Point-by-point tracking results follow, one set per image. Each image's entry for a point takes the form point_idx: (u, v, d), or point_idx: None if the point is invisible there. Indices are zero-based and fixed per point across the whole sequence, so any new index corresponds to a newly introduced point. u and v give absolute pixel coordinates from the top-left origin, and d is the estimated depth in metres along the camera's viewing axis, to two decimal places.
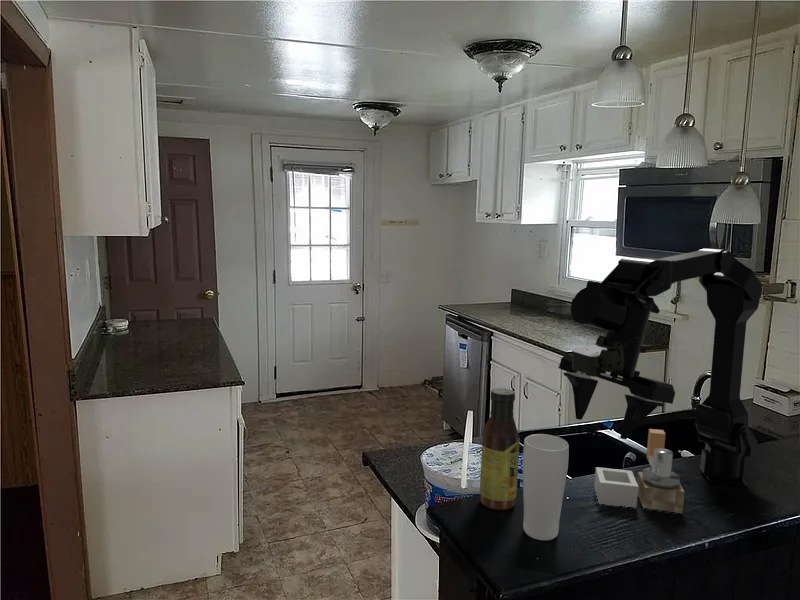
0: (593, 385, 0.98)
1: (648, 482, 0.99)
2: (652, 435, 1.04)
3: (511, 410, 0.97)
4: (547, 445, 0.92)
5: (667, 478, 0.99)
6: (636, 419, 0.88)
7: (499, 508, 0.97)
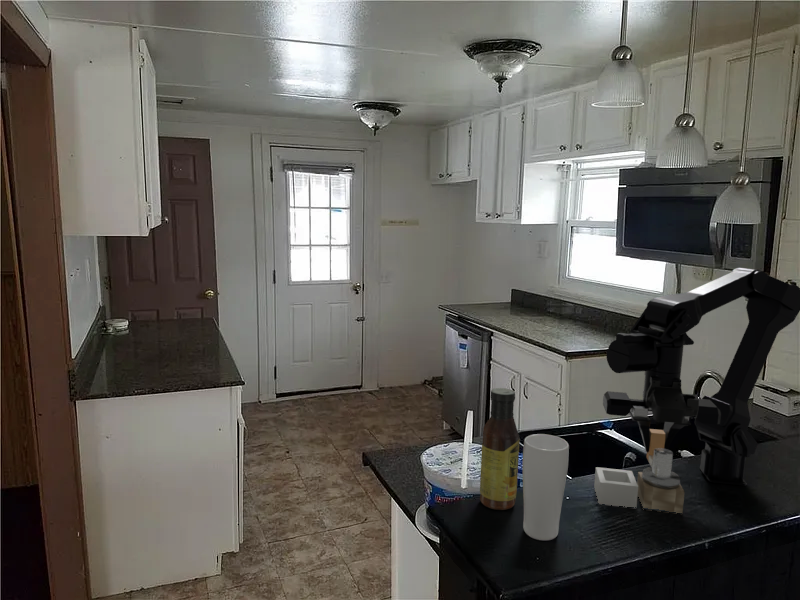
0: None
1: (648, 482, 0.99)
2: (652, 435, 1.04)
3: (511, 410, 0.97)
4: (547, 445, 0.92)
5: (667, 478, 0.99)
6: None
7: (499, 508, 0.97)
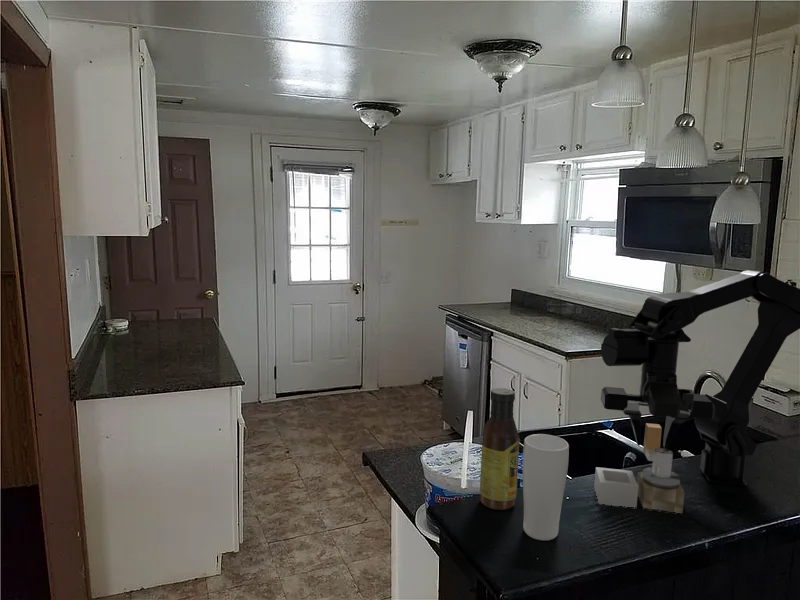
0: None
1: (648, 482, 0.99)
2: (649, 429, 1.07)
3: (511, 410, 0.97)
4: (547, 445, 0.92)
5: (667, 478, 0.99)
6: None
7: (499, 508, 0.97)
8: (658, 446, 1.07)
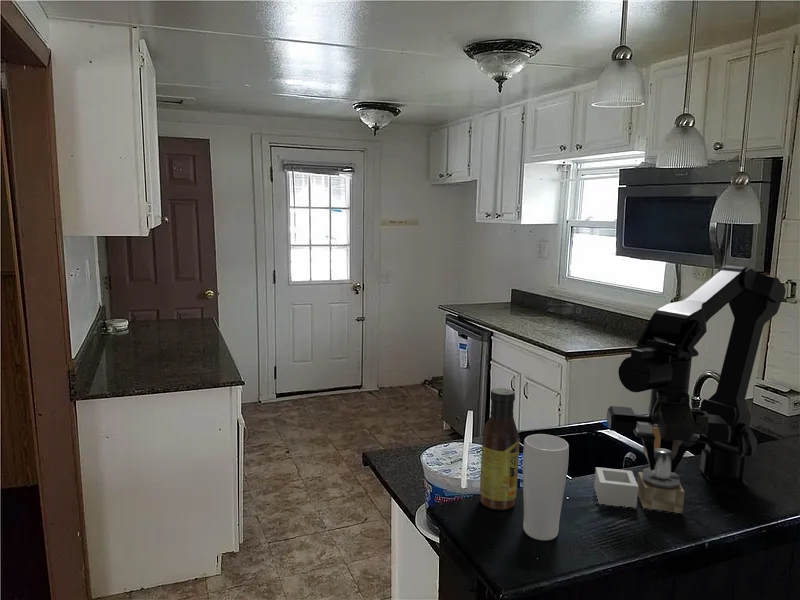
0: None
1: (648, 482, 0.99)
2: None
3: (511, 410, 0.97)
4: (547, 445, 0.92)
5: (667, 478, 0.99)
6: None
7: (499, 508, 0.97)
8: (658, 446, 1.07)
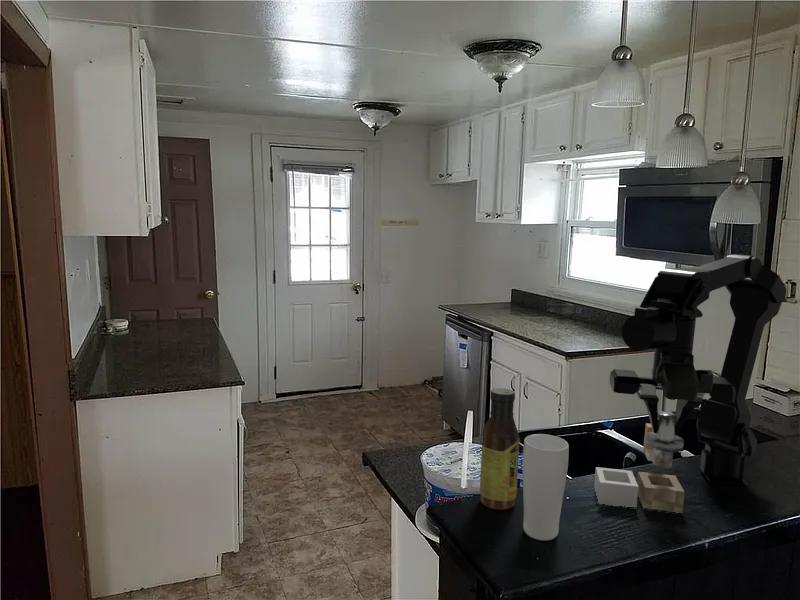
0: None
1: (651, 445, 0.98)
2: (649, 429, 1.07)
3: (511, 410, 0.97)
4: (547, 445, 0.92)
5: (671, 440, 0.98)
6: None
7: (499, 508, 0.97)
8: None
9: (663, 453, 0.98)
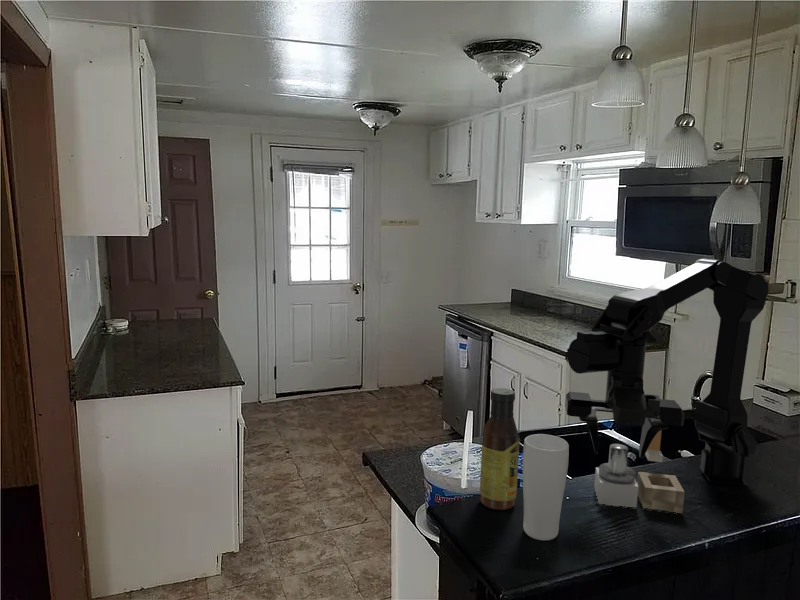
0: None
1: (603, 477, 1.01)
2: None
3: (511, 410, 0.97)
4: (547, 445, 0.92)
5: (622, 473, 1.00)
6: None
7: (499, 508, 0.97)
8: (658, 446, 1.07)
9: None
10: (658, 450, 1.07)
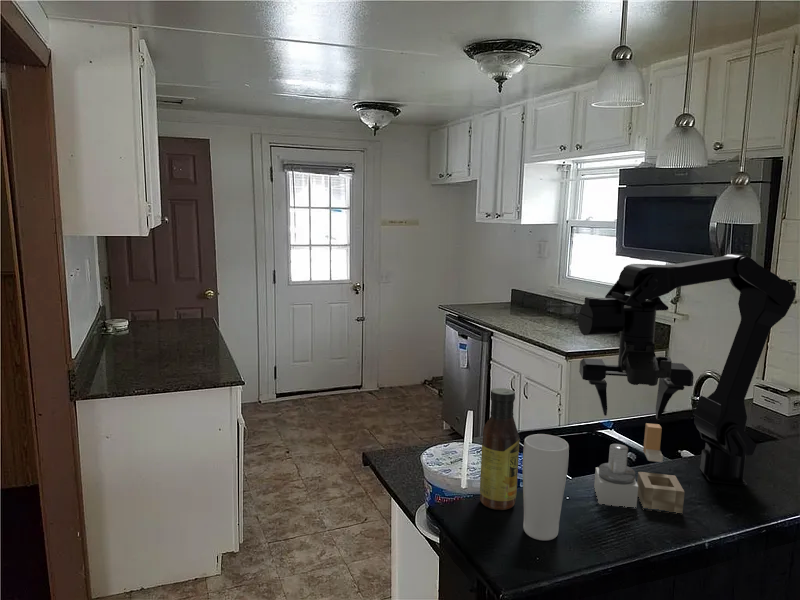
0: None
1: (603, 477, 1.01)
2: (649, 429, 1.07)
3: (511, 410, 0.97)
4: (547, 445, 0.92)
5: (622, 473, 1.00)
6: None
7: (499, 508, 0.97)
8: (658, 446, 1.07)
9: None
10: (658, 450, 1.07)
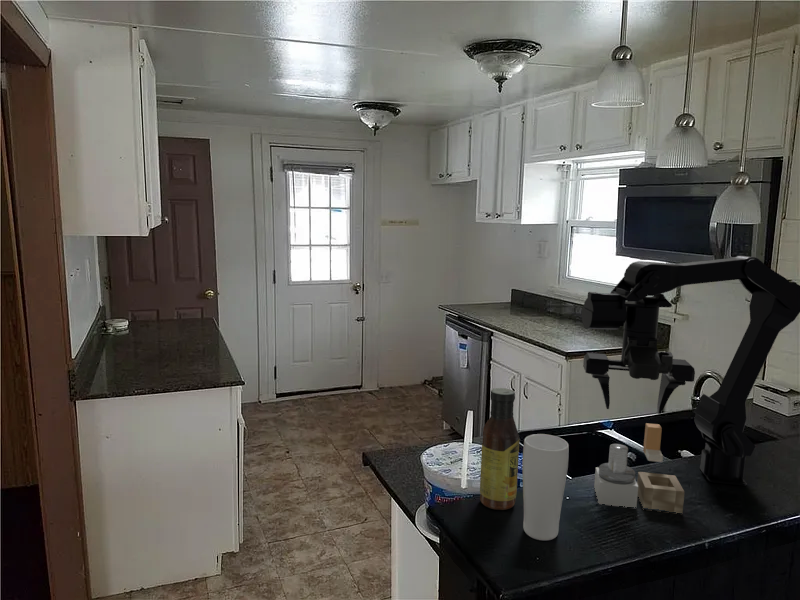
0: None
1: (603, 477, 1.01)
2: (649, 429, 1.07)
3: (511, 410, 0.97)
4: (547, 445, 0.92)
5: (622, 473, 1.00)
6: None
7: (499, 508, 0.97)
8: (658, 446, 1.07)
9: None
10: (658, 450, 1.07)
